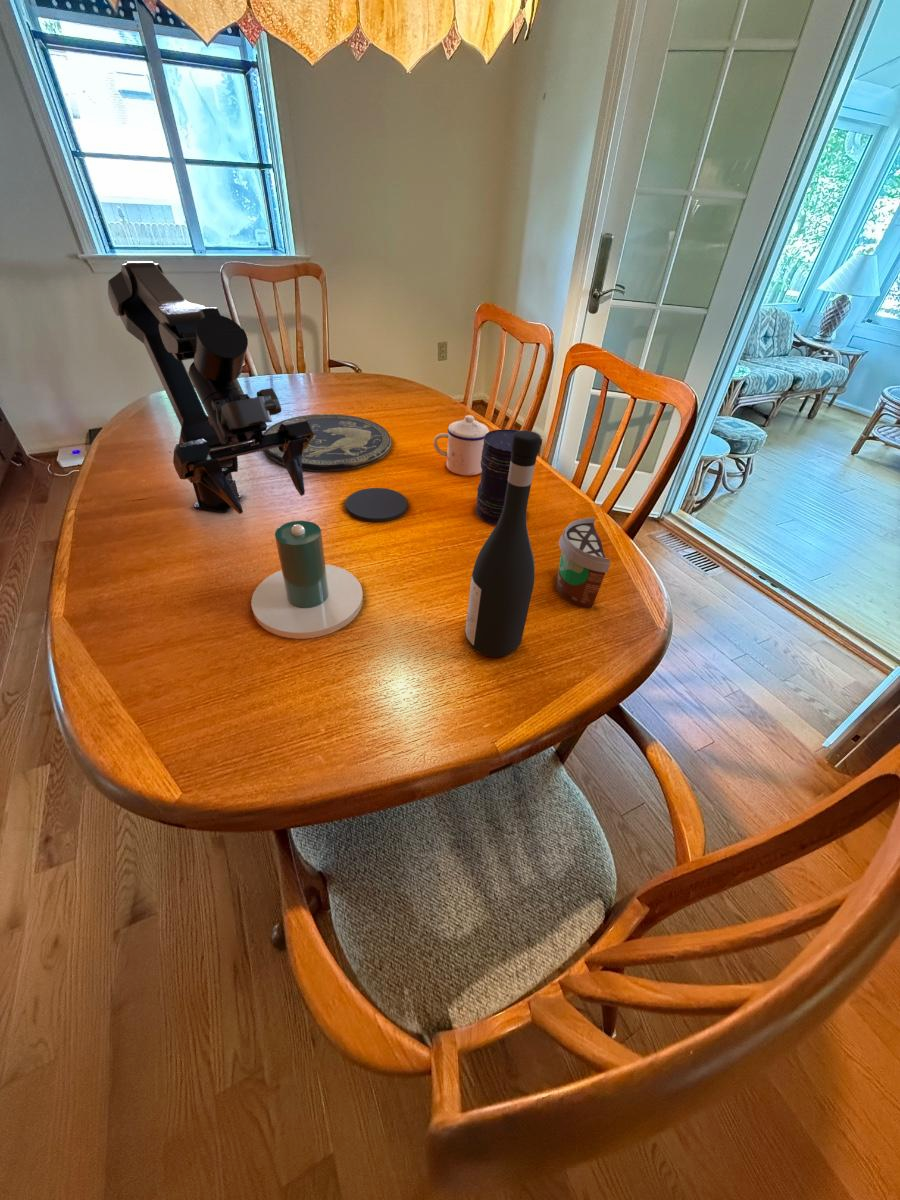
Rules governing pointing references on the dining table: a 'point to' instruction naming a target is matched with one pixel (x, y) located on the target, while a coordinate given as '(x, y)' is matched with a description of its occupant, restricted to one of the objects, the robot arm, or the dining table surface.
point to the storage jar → (494, 474)
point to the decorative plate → (338, 443)
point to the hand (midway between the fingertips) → (273, 503)
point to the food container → (581, 563)
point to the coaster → (376, 505)
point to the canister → (302, 563)
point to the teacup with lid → (464, 446)
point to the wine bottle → (505, 563)
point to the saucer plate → (307, 622)
